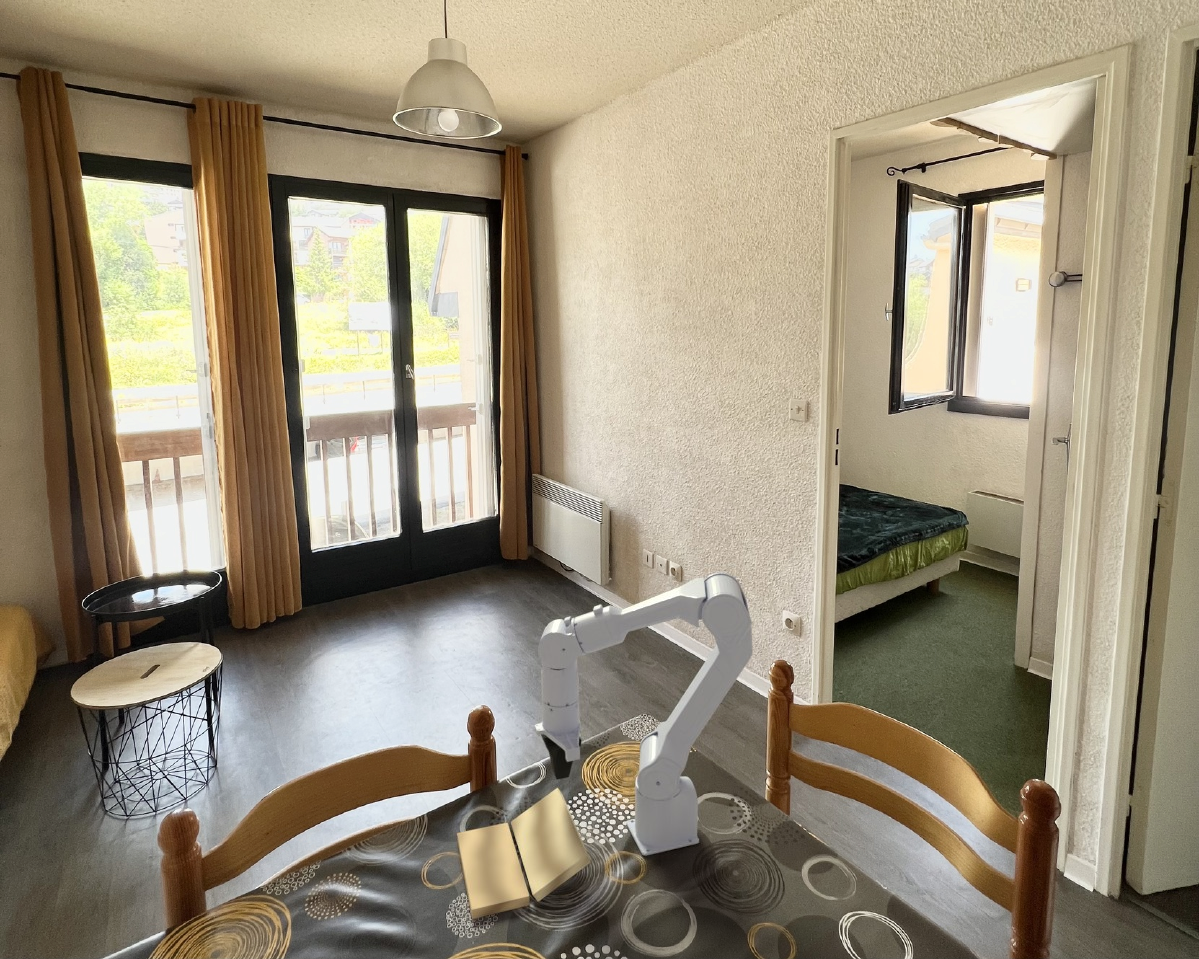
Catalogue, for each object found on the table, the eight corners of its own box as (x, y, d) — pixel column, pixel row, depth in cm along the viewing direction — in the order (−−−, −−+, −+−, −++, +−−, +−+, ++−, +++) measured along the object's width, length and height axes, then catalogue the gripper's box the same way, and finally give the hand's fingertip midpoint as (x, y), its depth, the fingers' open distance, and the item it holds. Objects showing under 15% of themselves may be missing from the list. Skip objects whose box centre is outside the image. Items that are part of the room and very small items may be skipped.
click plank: (562, 793, 121) (557, 787, 121) (591, 861, 106) (586, 855, 106) (515, 828, 120) (510, 821, 119) (538, 901, 105) (532, 895, 104)
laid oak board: (507, 830, 120) (507, 822, 119) (529, 905, 105) (529, 896, 104) (457, 841, 117) (456, 833, 117) (472, 919, 102) (471, 909, 102)
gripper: (524, 679, 121) (526, 754, 124) (546, 726, 107) (548, 809, 110) (567, 673, 123) (568, 747, 126) (593, 718, 109) (593, 800, 112)
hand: (561, 775), depth 118 cm, fingers closed
